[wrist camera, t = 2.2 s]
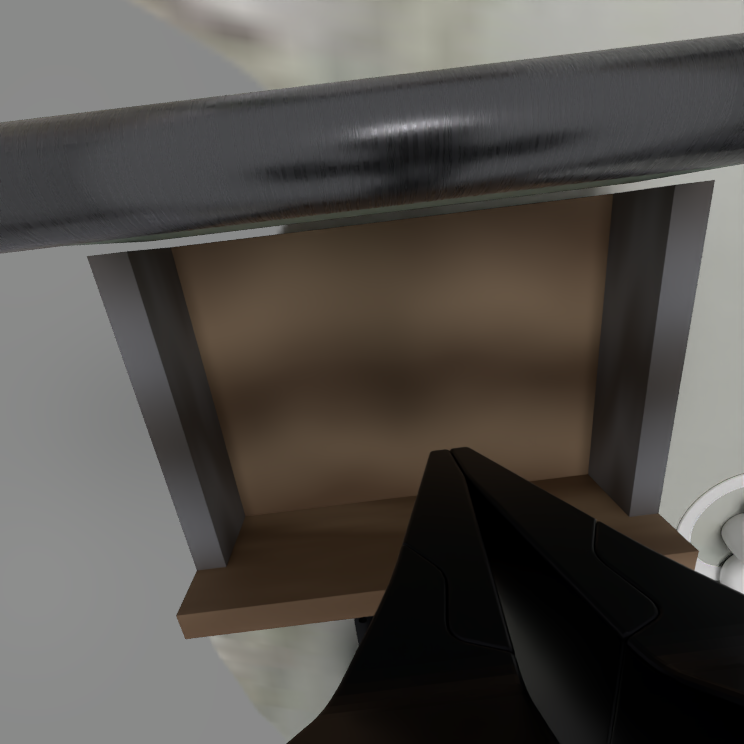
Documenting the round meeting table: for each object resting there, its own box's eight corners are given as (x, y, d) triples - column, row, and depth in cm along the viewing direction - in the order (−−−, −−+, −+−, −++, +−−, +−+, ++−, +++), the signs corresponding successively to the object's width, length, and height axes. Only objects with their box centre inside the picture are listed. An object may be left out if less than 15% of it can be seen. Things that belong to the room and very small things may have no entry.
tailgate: (632, 188, 15) (1137, 112, 5) (151, 246, 15) (-220, 277, 5) (637, 139, 14) (1213, -46, 5) (137, 200, 14) (-307, 138, 5)
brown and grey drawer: (587, 468, 21) (693, 576, 15) (237, 511, 21) (185, 639, 15) (611, 194, 16) (783, 170, 10) (163, 249, 16) (36, 261, 10)
